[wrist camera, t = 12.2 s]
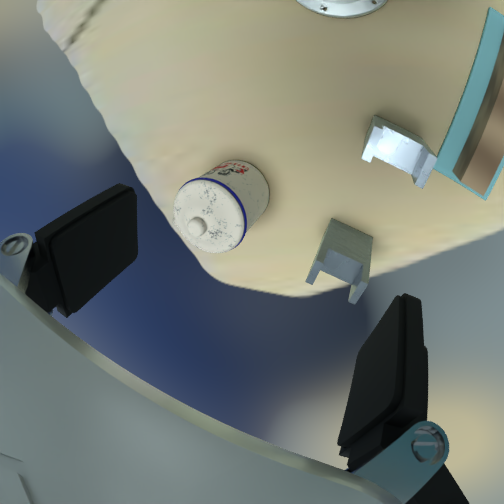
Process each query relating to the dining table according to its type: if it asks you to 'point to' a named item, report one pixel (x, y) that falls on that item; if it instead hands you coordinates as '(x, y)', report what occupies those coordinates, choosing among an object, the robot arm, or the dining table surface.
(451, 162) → the mat
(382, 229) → the dining table surface
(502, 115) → the rail
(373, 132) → the near standard
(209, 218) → the teacup with lid
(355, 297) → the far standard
